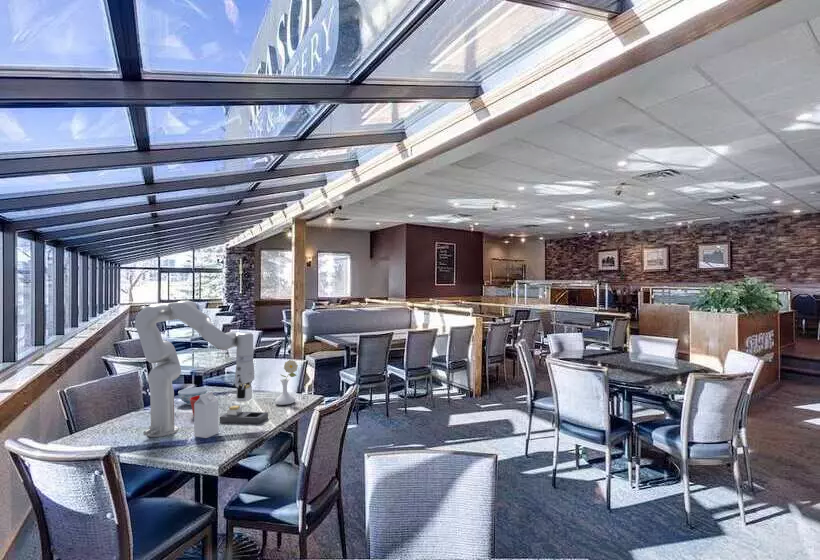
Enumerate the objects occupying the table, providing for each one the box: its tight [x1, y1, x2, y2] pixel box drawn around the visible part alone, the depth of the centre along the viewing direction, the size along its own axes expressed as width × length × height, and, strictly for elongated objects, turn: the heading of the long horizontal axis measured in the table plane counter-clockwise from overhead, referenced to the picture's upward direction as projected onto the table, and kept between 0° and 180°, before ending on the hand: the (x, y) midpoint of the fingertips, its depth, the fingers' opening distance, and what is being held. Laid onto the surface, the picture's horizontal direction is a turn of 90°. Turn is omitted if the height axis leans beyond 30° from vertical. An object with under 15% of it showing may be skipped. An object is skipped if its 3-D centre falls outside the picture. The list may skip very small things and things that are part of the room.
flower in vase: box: [274, 359, 299, 406], centre depth 242 cm, size 13×11×25 cm
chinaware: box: [177, 386, 208, 406], centre depth 245 cm, size 15×15×8 cm
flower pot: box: [190, 395, 200, 417], centre depth 222 cm, size 11×11×10 cm
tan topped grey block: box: [226, 405, 243, 416], centre depth 213 cm, size 5×5×7 cm
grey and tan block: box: [235, 384, 253, 402], centre depth 201 cm, size 5×5×7 cm
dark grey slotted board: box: [219, 411, 269, 425], centre depth 212 cm, size 9×21×3 cm, turn 82°
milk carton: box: [193, 391, 220, 439], centre depth 192 cm, size 7×7×19 cm
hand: (244, 396), depth 201 cm, fingers closed on grey and tan block, 5 cm apart
